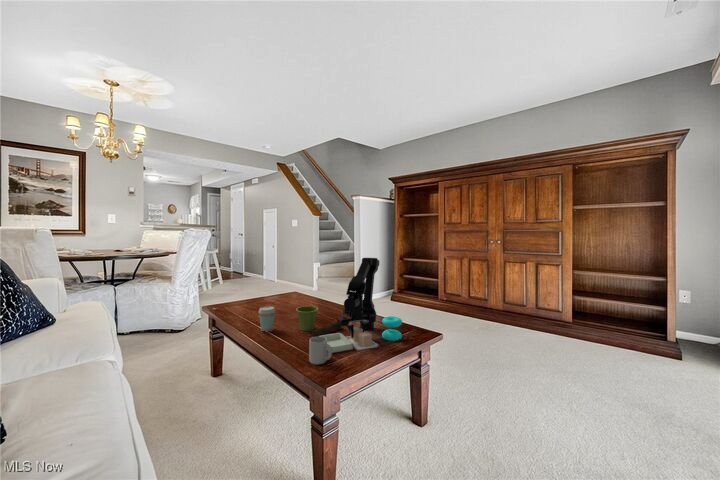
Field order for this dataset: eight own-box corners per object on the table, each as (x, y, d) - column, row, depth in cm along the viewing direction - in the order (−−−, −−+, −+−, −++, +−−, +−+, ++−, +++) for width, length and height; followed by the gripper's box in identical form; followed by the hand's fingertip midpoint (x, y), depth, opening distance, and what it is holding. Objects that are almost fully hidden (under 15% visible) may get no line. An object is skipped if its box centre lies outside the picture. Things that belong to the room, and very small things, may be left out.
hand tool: (316, 339, 151) (316, 330, 151) (311, 337, 154) (311, 328, 153) (344, 330, 164) (344, 322, 164) (339, 329, 167) (339, 320, 167)
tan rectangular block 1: (358, 337, 153) (358, 326, 152) (362, 340, 149) (362, 329, 148) (350, 338, 151) (350, 327, 150) (354, 341, 147) (354, 330, 146)
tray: (363, 336, 155) (363, 334, 155) (378, 347, 141) (378, 345, 141) (343, 339, 150) (343, 337, 150) (357, 351, 136) (357, 348, 136)
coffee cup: (277, 328, 166) (277, 306, 166) (271, 333, 158) (271, 310, 157) (262, 327, 167) (262, 305, 167) (255, 332, 159) (255, 309, 158)
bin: (340, 338, 152) (340, 332, 151) (353, 350, 138) (353, 343, 137) (318, 342, 147) (319, 335, 147) (330, 354, 133) (330, 347, 133)
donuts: (390, 314, 160) (406, 318, 153) (389, 333, 160) (405, 338, 154) (378, 318, 153) (394, 322, 146) (377, 338, 153) (393, 343, 146)
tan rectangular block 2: (365, 343, 145) (366, 331, 144) (371, 346, 141) (371, 334, 141) (358, 345, 142) (358, 333, 142) (363, 348, 138) (363, 336, 138)
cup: (315, 356, 131) (315, 335, 130) (335, 360, 127) (336, 339, 126) (305, 362, 124) (305, 341, 124) (326, 367, 120) (326, 345, 120)
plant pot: (291, 331, 162) (291, 310, 161) (303, 324, 173) (303, 305, 172) (310, 334, 157) (311, 312, 157) (322, 327, 168) (322, 307, 168)
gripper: (366, 300, 160) (366, 329, 161) (333, 303, 152) (332, 334, 153) (376, 305, 150) (376, 336, 151) (341, 309, 142) (341, 342, 143)
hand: (356, 337), depth 150 cm, fingers closed on tan rectangular block 1, 4 cm apart
